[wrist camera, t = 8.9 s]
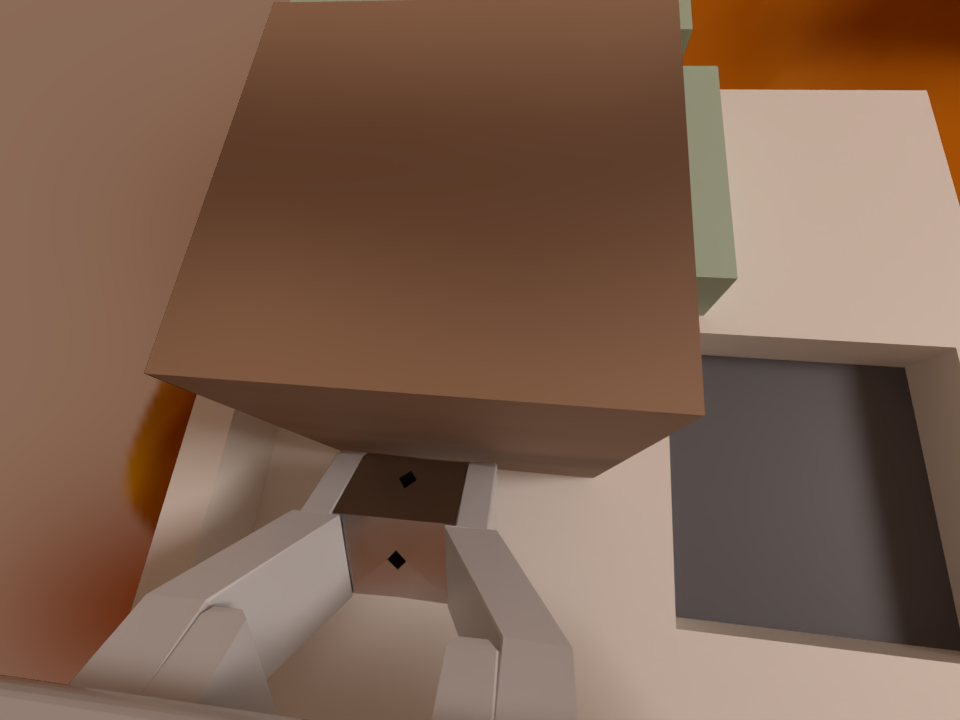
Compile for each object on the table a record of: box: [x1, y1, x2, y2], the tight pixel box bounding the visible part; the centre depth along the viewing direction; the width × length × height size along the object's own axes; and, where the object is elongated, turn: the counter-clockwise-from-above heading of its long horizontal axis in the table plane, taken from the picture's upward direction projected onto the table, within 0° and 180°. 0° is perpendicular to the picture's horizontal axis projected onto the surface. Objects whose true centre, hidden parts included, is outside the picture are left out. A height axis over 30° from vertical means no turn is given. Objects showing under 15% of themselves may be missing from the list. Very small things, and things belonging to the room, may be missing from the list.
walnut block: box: [144, 0, 705, 478], centre depth 9 cm, size 6×6×7 cm
